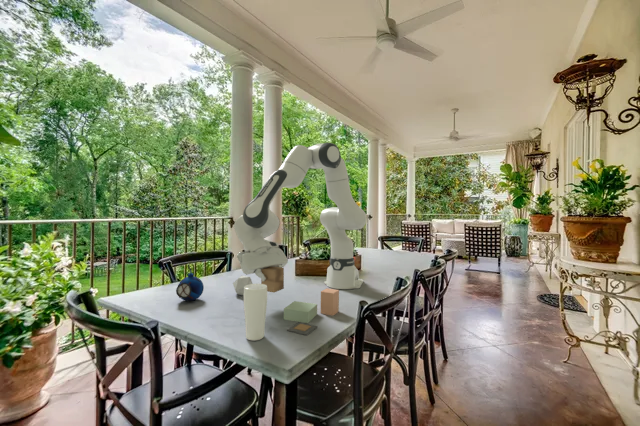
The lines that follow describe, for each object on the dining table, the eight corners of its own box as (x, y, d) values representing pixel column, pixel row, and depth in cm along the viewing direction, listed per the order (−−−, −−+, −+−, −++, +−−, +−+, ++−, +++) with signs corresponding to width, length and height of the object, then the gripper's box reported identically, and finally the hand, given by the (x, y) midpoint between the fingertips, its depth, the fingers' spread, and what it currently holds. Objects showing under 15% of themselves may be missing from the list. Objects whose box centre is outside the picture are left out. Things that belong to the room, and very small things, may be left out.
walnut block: (271, 286, 116) (271, 266, 116) (283, 288, 113) (283, 267, 113) (261, 290, 111) (261, 269, 110) (274, 292, 108) (274, 270, 108)
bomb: (170, 304, 114) (170, 266, 114) (185, 296, 125) (185, 261, 125) (195, 305, 113) (195, 266, 113) (207, 297, 124) (207, 261, 124)
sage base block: (294, 311, 109) (294, 301, 109) (317, 315, 106) (317, 304, 106) (283, 320, 101) (283, 308, 101) (308, 324, 98) (308, 312, 98)
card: (298, 323, 97) (298, 321, 97) (317, 327, 94) (317, 325, 94) (286, 330, 91) (287, 328, 91) (306, 335, 88) (306, 333, 88)
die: (257, 295, 131) (254, 275, 136) (250, 290, 123) (246, 269, 128) (240, 301, 131) (237, 281, 136) (231, 296, 124) (228, 275, 129)
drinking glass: (270, 338, 85) (271, 287, 85) (248, 344, 81) (249, 290, 81) (261, 330, 91) (261, 282, 91) (239, 336, 87) (240, 285, 87)
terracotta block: (326, 309, 112) (326, 288, 112) (338, 311, 109) (339, 290, 109) (320, 313, 107) (320, 291, 107) (333, 315, 105) (333, 293, 105)
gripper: (238, 247, 108) (255, 278, 102) (280, 242, 124) (296, 268, 118) (231, 258, 111) (247, 288, 105) (273, 251, 127) (289, 278, 121)
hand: (273, 278), depth 111 cm, fingers closed on walnut block, 7 cm apart
